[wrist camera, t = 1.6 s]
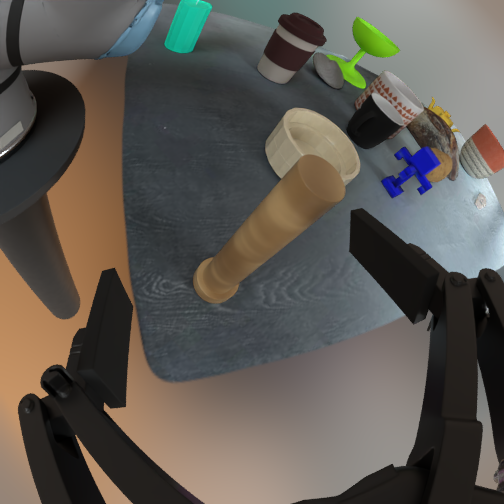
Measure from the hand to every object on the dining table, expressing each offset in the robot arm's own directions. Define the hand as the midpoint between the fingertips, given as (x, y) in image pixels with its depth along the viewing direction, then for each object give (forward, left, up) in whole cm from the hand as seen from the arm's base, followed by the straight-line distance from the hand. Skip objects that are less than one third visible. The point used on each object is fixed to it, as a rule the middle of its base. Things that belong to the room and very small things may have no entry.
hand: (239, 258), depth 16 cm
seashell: (+23, +65, -14) cm, 70 cm away
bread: (+70, +71, -14) cm, 101 cm away
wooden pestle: (+3, +4, -14) cm, 15 cm away
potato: (+52, +45, -14) cm, 70 cm away
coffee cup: (+8, +51, -14) cm, 54 cm away
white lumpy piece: (+107, +62, -14) cm, 124 cm away
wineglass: (+33, +80, -14) cm, 88 cm away
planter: (+104, +79, -14) cm, 131 cm away
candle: (-12, +48, -14) cm, 52 cm away
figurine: (+36, +32, -14) cm, 50 cm away
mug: (+28, +42, -14) cm, 52 cm away
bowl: (+14, +26, -14) cm, 33 cm away
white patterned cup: (+38, +57, -14) cm, 70 cm away
